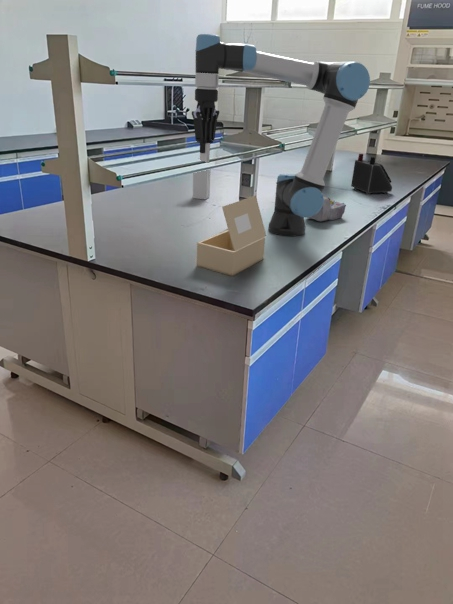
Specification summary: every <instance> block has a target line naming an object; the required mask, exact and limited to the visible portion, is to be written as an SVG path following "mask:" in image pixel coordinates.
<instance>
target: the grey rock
mask: <svg viewBox="0 0 453 604" xmlns="http://www.w3.org/2000/svg"><path fill="white" fill-rule="evenodd" d="M323 197H324V203H323V206H322V208H321V210H320V211H319V212H318V213H317V214H315V215H313V216H311V217H306V218H307V219H310V220H311V219H312V220H314V221H317V222H324V221H325V222H326V221H334V220H338V219H340V218H342V217H343V215H344V213H345V212H346V211H345V210H346V207H347V205H346V204H345V203H344V202H342V203H341V202H339V201H335V200H331V198H329V197H326V196H323Z"/></svg>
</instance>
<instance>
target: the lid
mask: <svg viewBox="0 0 453 604" xmlns="http://www.w3.org/2000/svg"><path fill="white" fill-rule="evenodd" d="M221 209H222V211H223V216H224V219H225V223H226V227H227V229H228V231H229V234H230V238H231V241H232V245H233V249H234V251H237V250H239V249H241V248H243V247H245V246H247V245H249V244H251V243H253V242H255V241H257V240H260V239H262V238H264V237H265V238H266V237H267V234H266V229H265V225H264V221H263V218H262V214H261V210H260V206H259V202H258V198H257V195H253V196H249V197H247V198H244V199H241V200H238V201H235V202H232V203H229V204H226V205H223V206H222V207H221Z"/></svg>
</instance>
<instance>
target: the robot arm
mask: <svg viewBox="0 0 453 604" xmlns="http://www.w3.org/2000/svg"><path fill="white" fill-rule="evenodd" d="M195 41H196V42H195V43H196V44H195V80H194V81H195V82H194V84H195V85H194V86H195V87H196V88H195V89H194V100H195V101H196V102H197V105H196V110H194V111H191V115H192V119H193V127H194V137H195V141H196V142H197V143H198V144H199V159H200V160H201V161H205V162H206V163H210V153H211V144H213V143H214V141H215V137H216V131H217V124H218V118H219V115H220V110H217V109H216V105H215V103H217V102H218V99H219V91H218V88H219V77H220V74H219V73H220V69H221V70H227V71H229V70H230V71H234V72H239V73H245V74H249V75H254V76H260V77H264V78H268V79H272V80H278V81H282V82H287V83H293V84H296V85H303V86H306V88H307V89H308V90H310V91H311V90H312V91H314V92H315V91H316V92H319V93H321V94H322V95H323V94H324V95H323V97H322V99H323V102H324V107H323V110H322V113H321V116H320V117H319V121H318V123H317V126H316V129H315V131H314V136H313V138H312V140H311V142H310V146H309V149H308V151H307V154H306V157H305V159H304V163H303V165H302V168H301V170H300V172H298V173H281V174H279V175H277V178H276V182H275V184H276V187H275V198H274V199H275V200H274V210H273V213H272V216H271V218H270V221H269V222H268V231H269V232H270V233H272V234H275V235H279V236H284V237H285V236H287V237H297V236H298V237H299V236H302V235H304V234H305V233H306V224H305V223H306V222H305V218H307V217H311V216H313V215H315V214H317V213H318V212H319V211H320V210H321V208H322V206H323V203H324V197H325V196H324V194H323V192H324V189H325V186H326V184H325V181H324V177H325V176H326V172H327V170H328V167H329V165H330V162H331V159H332V157H333V154H334V152H335V149H336V146H337V143H338V141H339V138H340V136H341V133H342V131H343V128H344V125H345V123H346V120H347V118H348V115H349V113H350V112H351V111H353V110H355V108H356V107H357V104H358V101H359V100H360V99H361V98H363V97H364V96H366V93H367V92H368V90H369V88H370V84H371V76H370V73H369V70H368V68H367V67H366V66H365V65H364V64H362V63H361V62H357V61H353V60H348V61H319V60H313V61H312V62H308V61H304V60H299V59H296V58H295V59H294V58H290V57H287V56H281V55H277V54H271V53H269V52H262V51H258V50H257V46H255V45H254V44H248V43H231V42H230V43H229V42H223V41H222V42H221V37H220V35H219V34H212V33H211V34H209V33H200V34H197V36H196V40H195Z"/></svg>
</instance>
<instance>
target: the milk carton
mask: <svg viewBox="0 0 453 604" xmlns="http://www.w3.org/2000/svg"><path fill="white" fill-rule="evenodd" d="M210 192H211V169H210V170H206V171H201V172H197V173H193V172H192V199H199V200H200V199H201V200H207V199H208V198H210V195H211V193H210Z"/></svg>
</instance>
